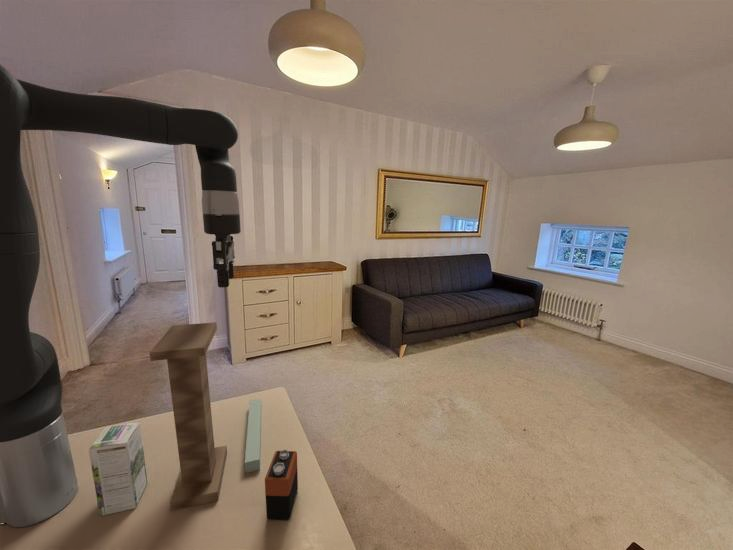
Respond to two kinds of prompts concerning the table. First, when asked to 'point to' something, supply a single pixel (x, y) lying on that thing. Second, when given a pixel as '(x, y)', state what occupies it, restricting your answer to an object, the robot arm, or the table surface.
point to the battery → (281, 485)
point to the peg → (253, 437)
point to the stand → (192, 413)
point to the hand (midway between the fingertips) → (226, 282)
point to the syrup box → (118, 468)
